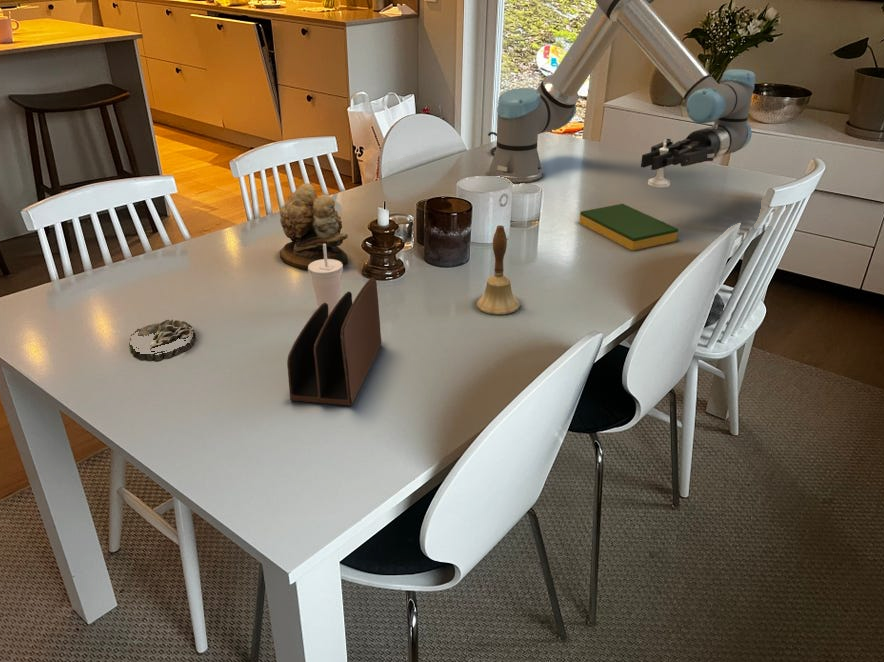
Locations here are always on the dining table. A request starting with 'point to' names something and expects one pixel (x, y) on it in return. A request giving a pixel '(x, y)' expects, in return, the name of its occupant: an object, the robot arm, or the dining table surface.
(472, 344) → the dining table surface
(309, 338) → the letter holder
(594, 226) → the sponge pad
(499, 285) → the hand bell
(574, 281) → the dining table surface
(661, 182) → the chess piece
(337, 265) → the smoothie
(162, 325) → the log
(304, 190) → the owl figurine
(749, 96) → the robot arm
